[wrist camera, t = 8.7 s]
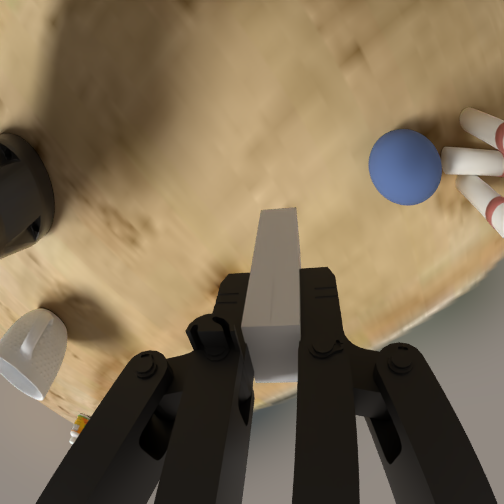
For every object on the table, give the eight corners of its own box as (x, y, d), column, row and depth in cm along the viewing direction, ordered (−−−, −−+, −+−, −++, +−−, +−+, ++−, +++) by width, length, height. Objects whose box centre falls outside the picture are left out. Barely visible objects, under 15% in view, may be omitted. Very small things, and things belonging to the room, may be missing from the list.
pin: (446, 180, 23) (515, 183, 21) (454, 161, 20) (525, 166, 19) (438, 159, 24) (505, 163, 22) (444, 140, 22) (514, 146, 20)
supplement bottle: (98, 424, 71) (87, 451, 63) (86, 421, 73) (75, 447, 65) (87, 414, 68) (75, 442, 60) (75, 411, 70) (63, 438, 62)
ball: (448, 207, 22) (398, 179, 26) (459, 138, 18) (402, 117, 23) (405, 228, 20) (351, 194, 25) (416, 148, 17) (353, 125, 21)
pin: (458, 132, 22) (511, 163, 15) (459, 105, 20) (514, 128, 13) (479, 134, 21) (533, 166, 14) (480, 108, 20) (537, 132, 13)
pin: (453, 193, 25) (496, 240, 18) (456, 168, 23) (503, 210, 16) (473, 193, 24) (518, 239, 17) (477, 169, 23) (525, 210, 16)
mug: (34, 273, 39) (-15, 333, 28) (89, 316, 42) (49, 384, 31) (26, 317, 46) (-9, 368, 35) (71, 351, 49) (41, 406, 38)
